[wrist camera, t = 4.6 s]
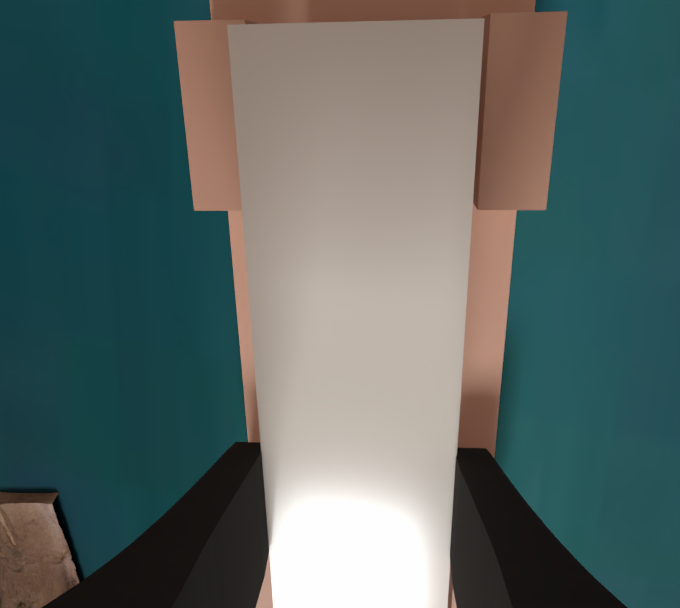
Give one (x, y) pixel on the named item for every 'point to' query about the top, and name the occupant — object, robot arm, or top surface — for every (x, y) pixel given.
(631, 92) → the top surface
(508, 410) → the top surface
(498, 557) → the robot arm
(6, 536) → the wooden fragment
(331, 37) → the strip
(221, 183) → the rack
